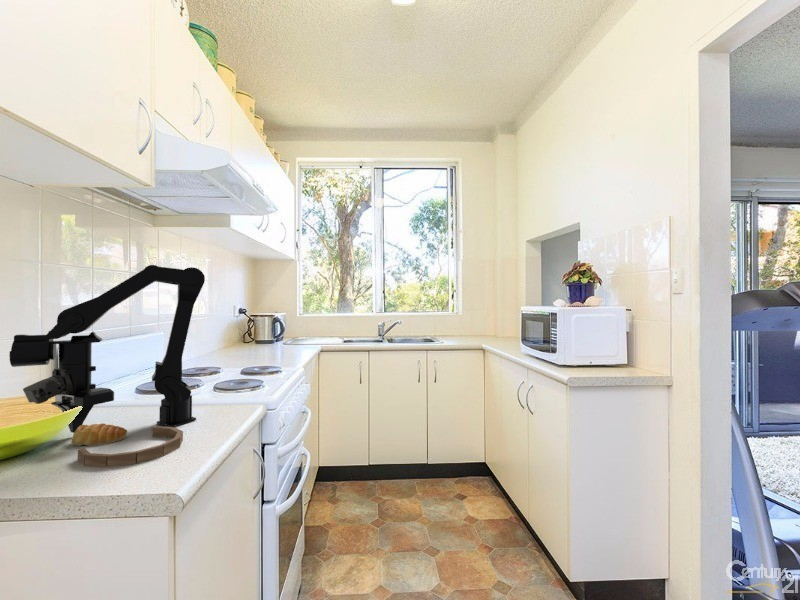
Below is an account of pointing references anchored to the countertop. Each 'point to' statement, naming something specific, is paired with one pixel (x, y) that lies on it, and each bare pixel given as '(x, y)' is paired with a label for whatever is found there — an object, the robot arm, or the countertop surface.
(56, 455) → the countertop surface
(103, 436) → the pastry
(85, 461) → the walnut open arc
